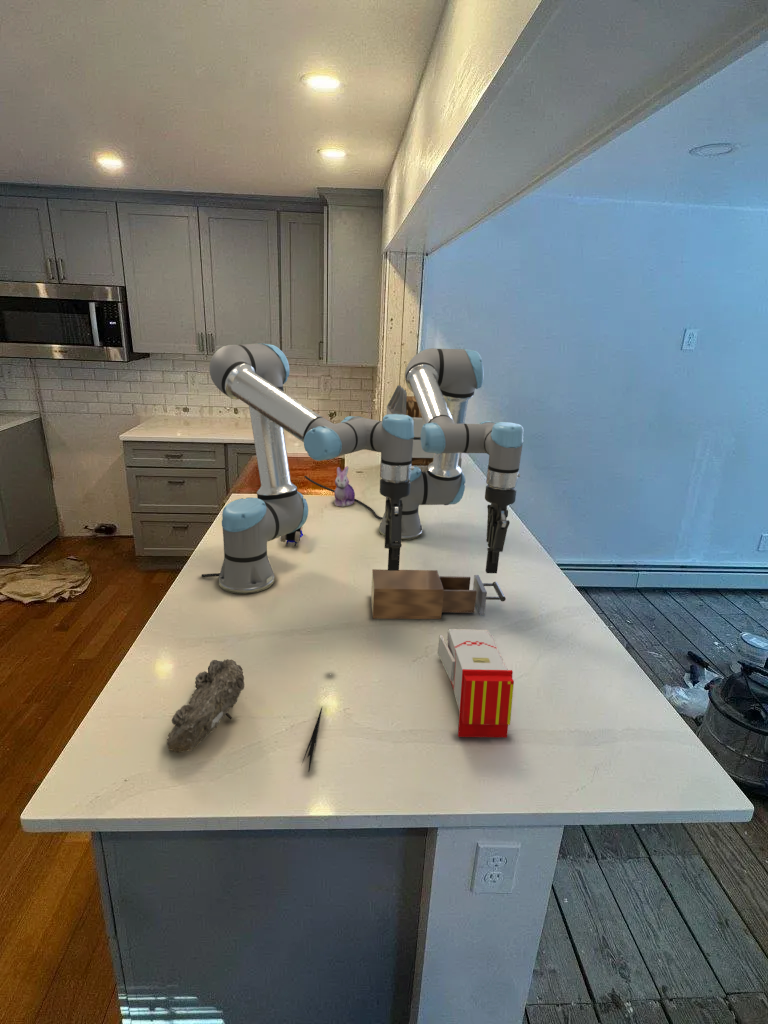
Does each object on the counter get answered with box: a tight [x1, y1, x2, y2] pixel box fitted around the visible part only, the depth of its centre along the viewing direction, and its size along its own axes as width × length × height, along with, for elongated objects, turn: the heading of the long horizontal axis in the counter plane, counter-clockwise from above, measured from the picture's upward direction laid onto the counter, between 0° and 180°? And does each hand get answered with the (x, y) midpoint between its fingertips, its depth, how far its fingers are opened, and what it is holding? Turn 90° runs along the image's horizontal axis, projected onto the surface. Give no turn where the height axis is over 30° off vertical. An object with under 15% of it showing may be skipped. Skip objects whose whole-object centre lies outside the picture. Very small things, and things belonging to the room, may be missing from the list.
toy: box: [437, 628, 515, 738], centre depth 117 cm, size 12×13×30 cm
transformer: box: [385, 384, 463, 469], centre depth 268 cm, size 34×33×41 cm
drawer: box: [439, 574, 506, 616], centre depth 150 cm, size 22×10×7 cm, turn 93°
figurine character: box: [280, 526, 304, 547], centre depth 189 cm, size 7×8×15 cm
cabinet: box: [370, 568, 444, 620], centre depth 149 cm, size 18×11×8 cm, turn 93°
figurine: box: [333, 466, 356, 507], centre depth 225 cm, size 9×10×15 cm
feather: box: [301, 673, 332, 771], centre depth 108 cm, size 2×28×2 cm
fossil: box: [166, 658, 245, 754], centre depth 106 cm, size 22×10×15 cm
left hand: (391, 558), depth 145 cm, fingers open, 13 cm apart
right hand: (491, 572), depth 148 cm, fingers closed
